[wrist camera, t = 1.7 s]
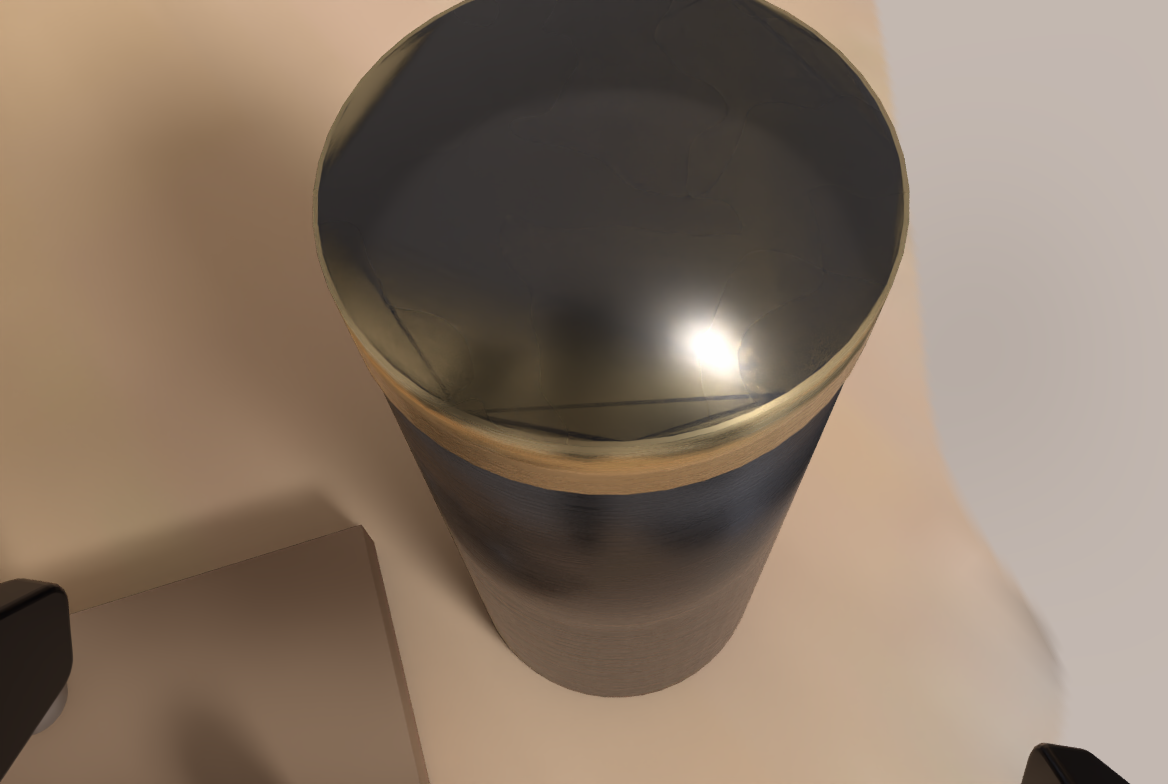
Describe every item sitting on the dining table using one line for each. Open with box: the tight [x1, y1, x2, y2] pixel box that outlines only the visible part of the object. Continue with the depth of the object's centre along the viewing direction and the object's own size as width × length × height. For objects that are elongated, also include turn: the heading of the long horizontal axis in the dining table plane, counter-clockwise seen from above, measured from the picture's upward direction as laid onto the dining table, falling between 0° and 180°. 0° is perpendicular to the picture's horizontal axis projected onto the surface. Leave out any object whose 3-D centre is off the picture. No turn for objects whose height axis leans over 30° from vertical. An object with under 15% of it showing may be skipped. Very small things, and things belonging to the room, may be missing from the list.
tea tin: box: [313, 0, 909, 697], centre depth 16 cm, size 6×6×13 cm
